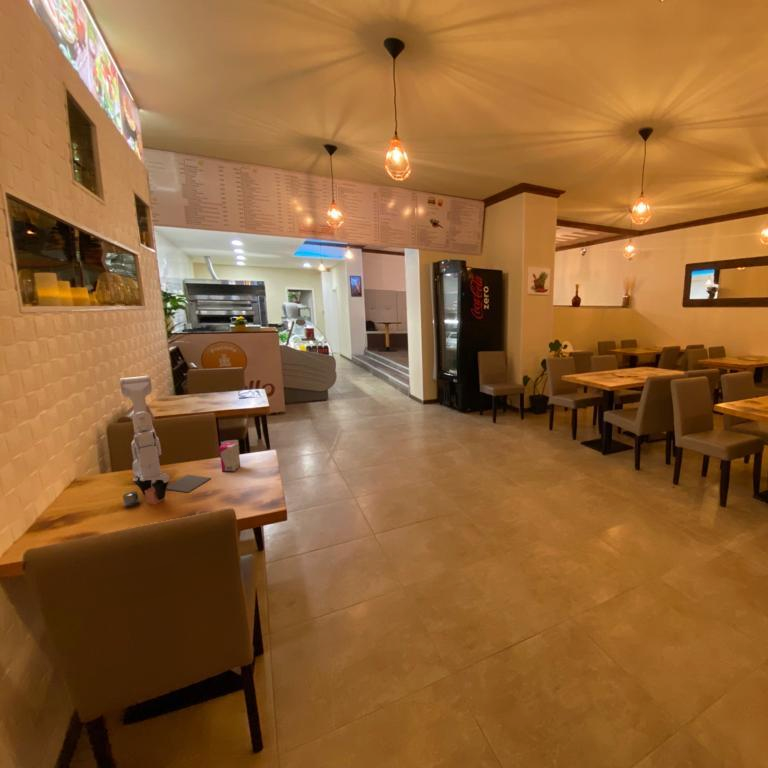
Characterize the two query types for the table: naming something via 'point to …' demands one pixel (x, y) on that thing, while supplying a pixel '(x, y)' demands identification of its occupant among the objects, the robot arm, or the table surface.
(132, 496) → the metal tin
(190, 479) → the charcoal mat
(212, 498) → the table surface
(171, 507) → the table surface
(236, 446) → the supplement box
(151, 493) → the red block
